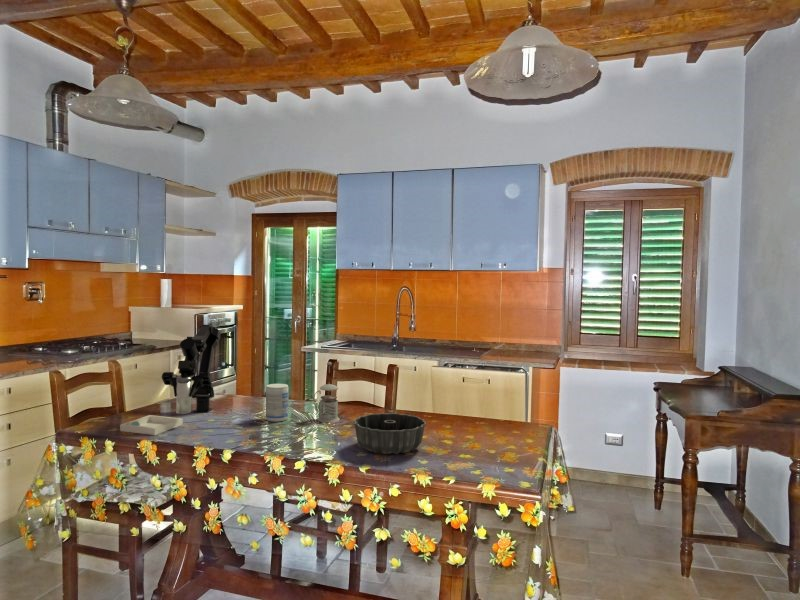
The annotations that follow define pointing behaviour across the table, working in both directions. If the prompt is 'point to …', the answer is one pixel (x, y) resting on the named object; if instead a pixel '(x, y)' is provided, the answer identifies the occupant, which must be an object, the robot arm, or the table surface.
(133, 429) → the tray
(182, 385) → the shaker
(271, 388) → the supplement tub
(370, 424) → the bundt pan
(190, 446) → the table surface
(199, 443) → the table surface
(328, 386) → the french press
